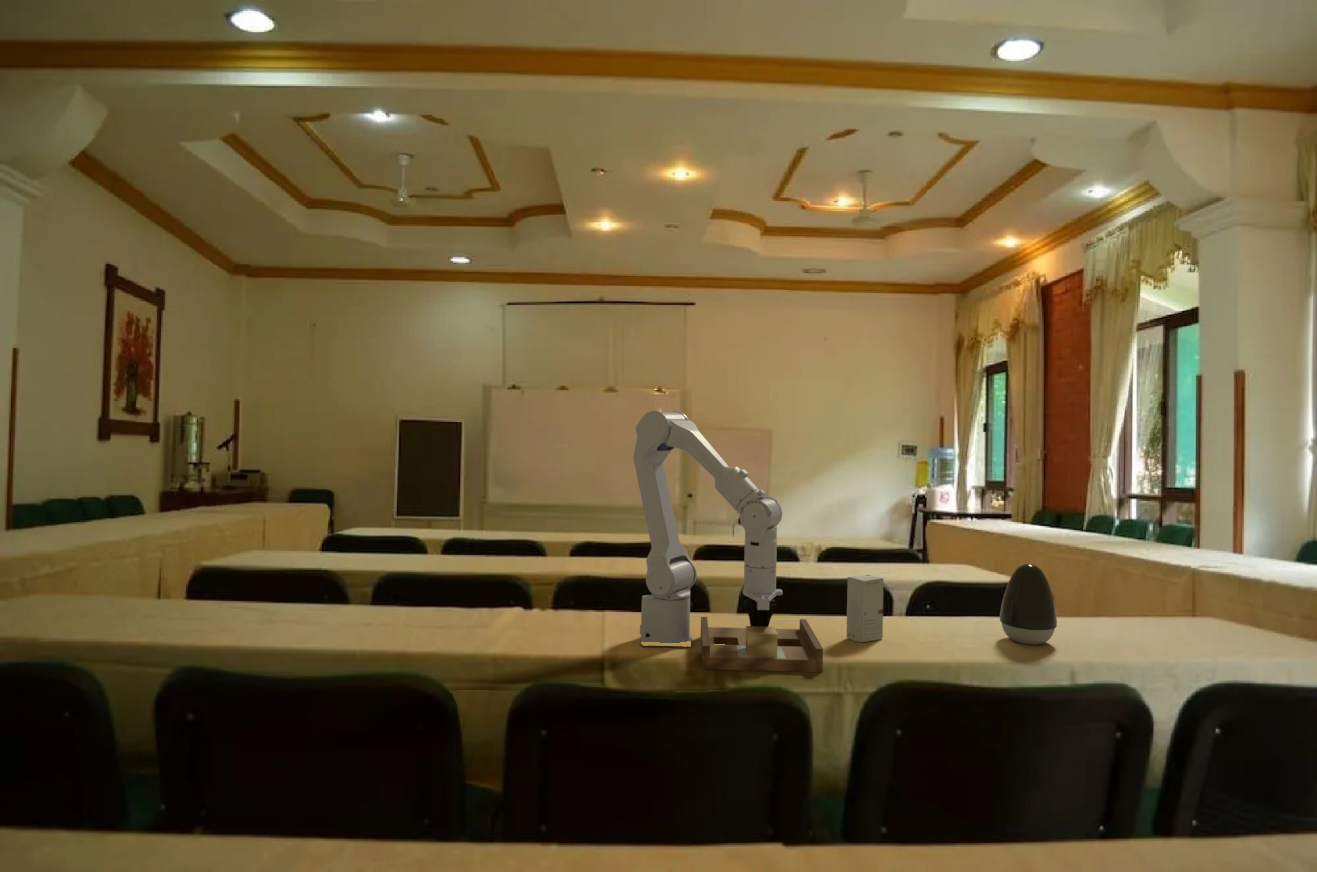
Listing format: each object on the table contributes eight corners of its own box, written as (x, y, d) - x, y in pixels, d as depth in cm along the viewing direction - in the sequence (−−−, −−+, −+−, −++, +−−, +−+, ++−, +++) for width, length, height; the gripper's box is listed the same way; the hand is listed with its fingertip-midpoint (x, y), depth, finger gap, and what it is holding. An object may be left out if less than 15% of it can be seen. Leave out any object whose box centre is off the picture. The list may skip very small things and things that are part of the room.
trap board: (702, 668, 139) (702, 645, 139) (700, 637, 159) (700, 616, 159) (822, 672, 138) (823, 648, 138) (805, 639, 158) (805, 619, 158)
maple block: (747, 656, 140) (748, 633, 140) (745, 648, 145) (746, 625, 145) (777, 657, 140) (777, 634, 139) (774, 648, 145) (774, 626, 144)
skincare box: (862, 643, 156) (863, 580, 156) (844, 638, 160) (846, 576, 160) (884, 639, 160) (885, 577, 159) (866, 633, 163) (867, 573, 163)
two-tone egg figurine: (1055, 637, 162) (1057, 562, 162) (1056, 651, 153) (1059, 570, 152) (1000, 631, 167) (1002, 557, 166) (998, 644, 157) (1000, 565, 157)
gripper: (787, 573, 138) (786, 653, 139) (778, 558, 153) (776, 630, 153) (746, 572, 139) (744, 652, 139) (740, 557, 153) (739, 629, 153)
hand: (758, 640), depth 146 cm, fingers closed
